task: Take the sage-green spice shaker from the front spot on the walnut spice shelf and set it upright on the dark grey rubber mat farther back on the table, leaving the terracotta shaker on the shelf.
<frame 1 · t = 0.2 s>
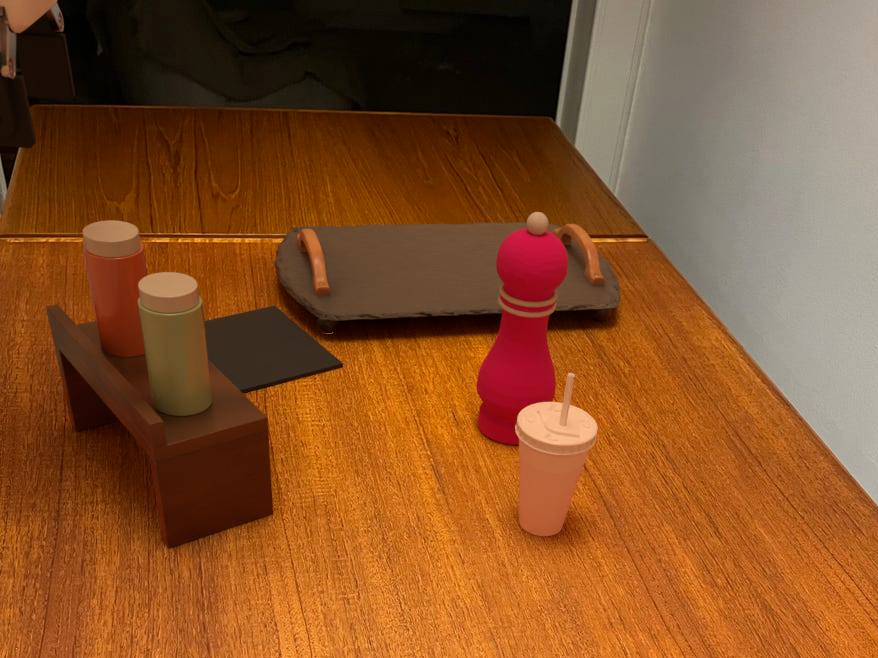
hand: (31, 120, 66), 27 cm above the table, tool pointing down, fingers open, 9 cm apart
smoothie: (540, 524, 84), on the table
mat: (246, 351, 100), on the table
terracotta shaker: (128, 344, 82), point 9 cm above the table, touching spice shelf
pepper mill: (510, 429, 95), on the table
spice shelf: (168, 467, 85), on the table
green shaker: (182, 401, 76), point 9 cm above the table, touching spice shelf
serving tray: (447, 290, 115), on the table
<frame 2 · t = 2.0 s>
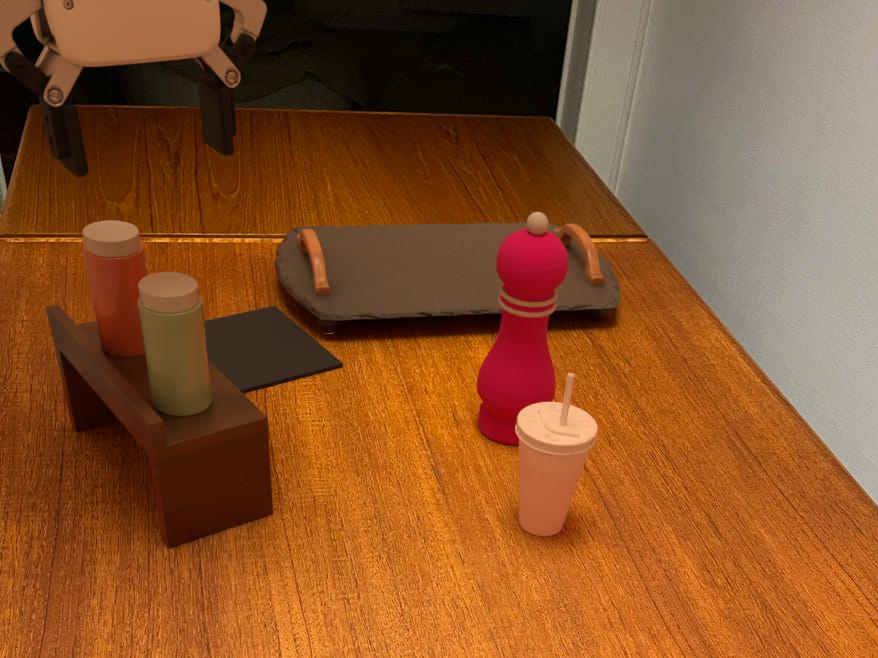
hand: (149, 159, 64), 26 cm above the table, tool pointing down, fingers open, 9 cm apart
nothing on the table moved.
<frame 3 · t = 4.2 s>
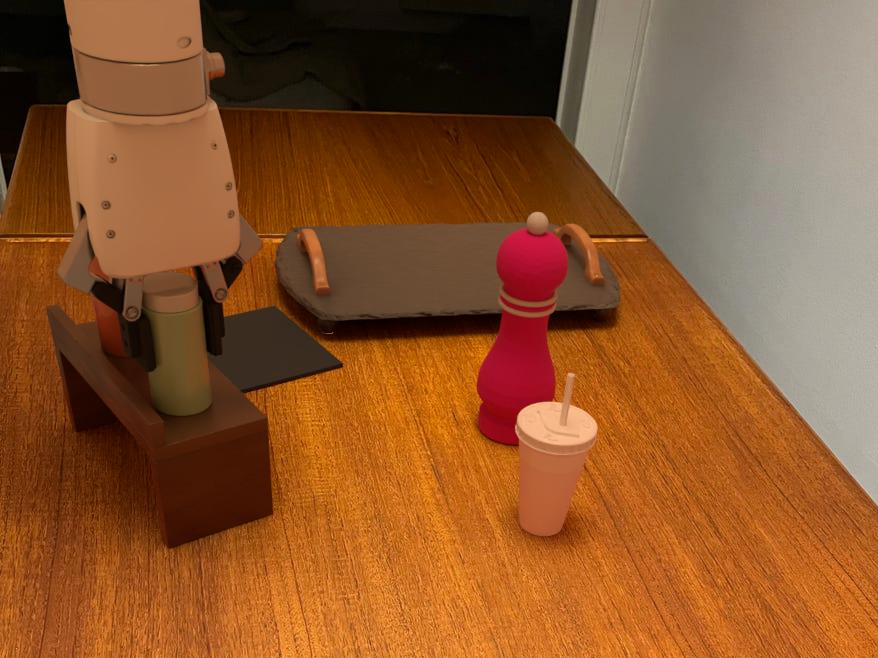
hand: (176, 353, 73), 13 cm above the table, tool pointing down, fingers closed on green shaker, 4 cm apart
green shaker: (182, 401, 76), point 9 cm above the table, touching gripper, spice shelf
everything else where it was.
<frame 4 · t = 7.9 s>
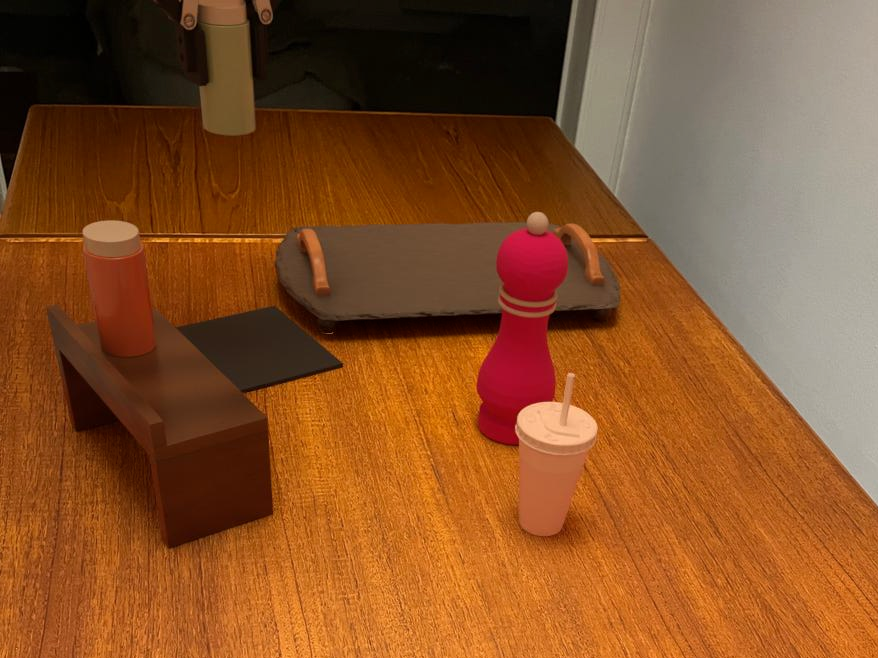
hand: (225, 75, 82), 25 cm above the table, tool pointing down, fingers closed on green shaker, 4 cm apart
green shaker: (229, 127, 85), point 21 cm above the table, touching gripper
everything else where it was.
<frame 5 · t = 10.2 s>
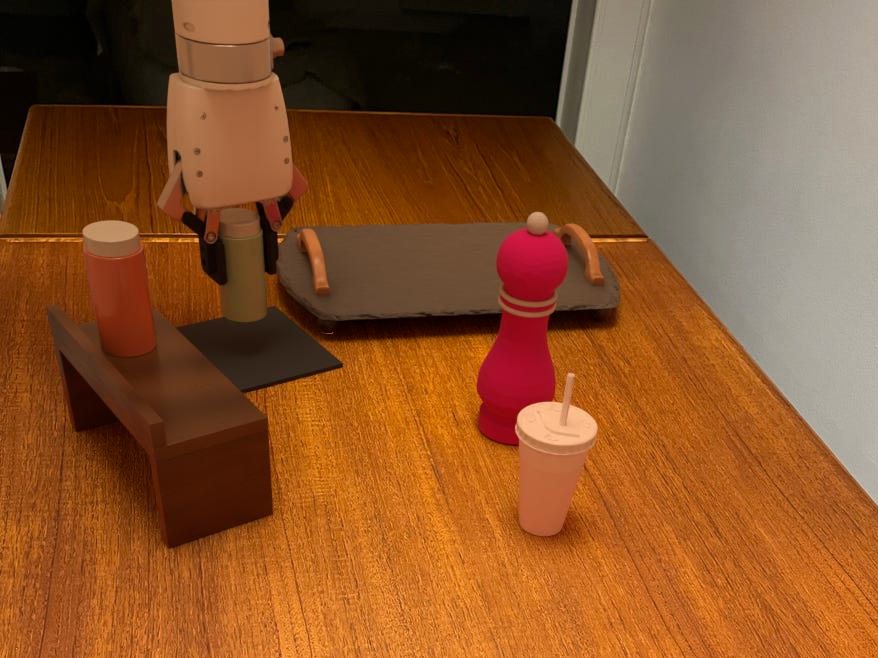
hand: (241, 272, 95), 8 cm above the table, tool pointing down, fingers closed on green shaker, 4 cm apart
green shaker: (244, 312, 98), point 4 cm above the table, touching gripper
everything else where it was.
when the fingers open (4 cm above the table, at t = 11.7 s): green shaker stays where it is, resting on mat.
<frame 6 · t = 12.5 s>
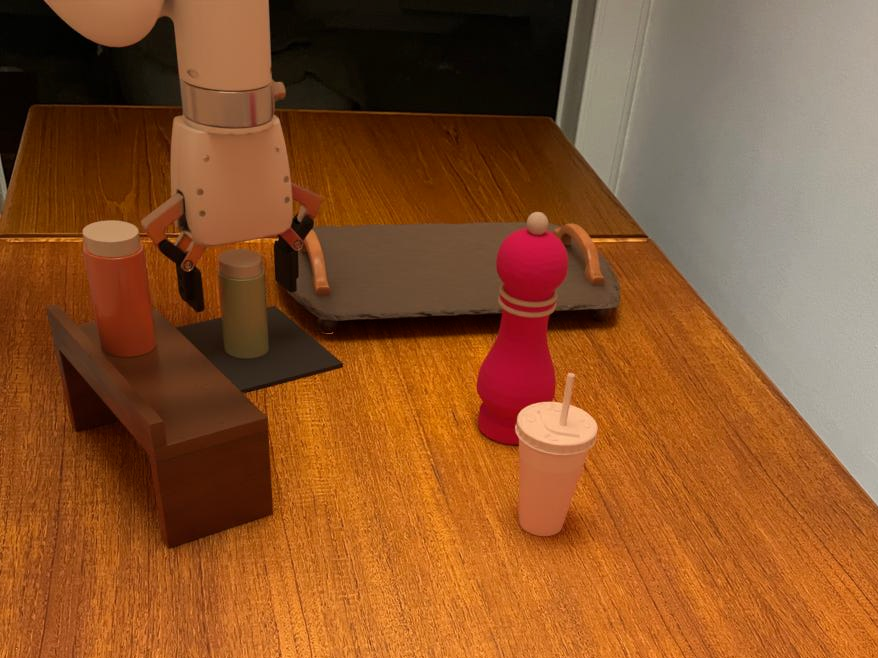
hand: (241, 296, 96), 6 cm above the table, tool pointing down, fingers open, 9 cm apart
green shaker: (246, 348, 100), resting on mat
everything else where it was.
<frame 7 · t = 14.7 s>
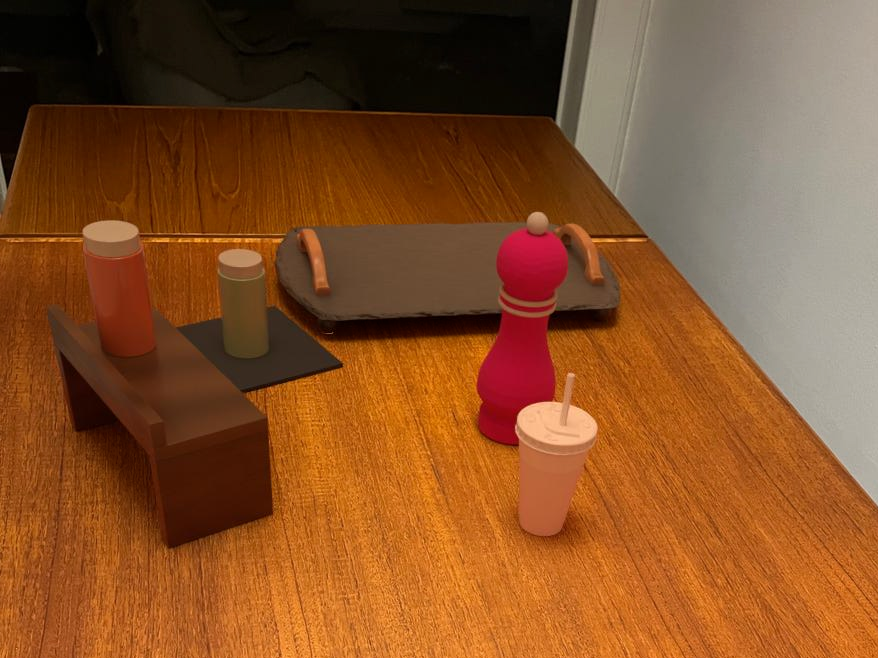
nothing on the table moved.
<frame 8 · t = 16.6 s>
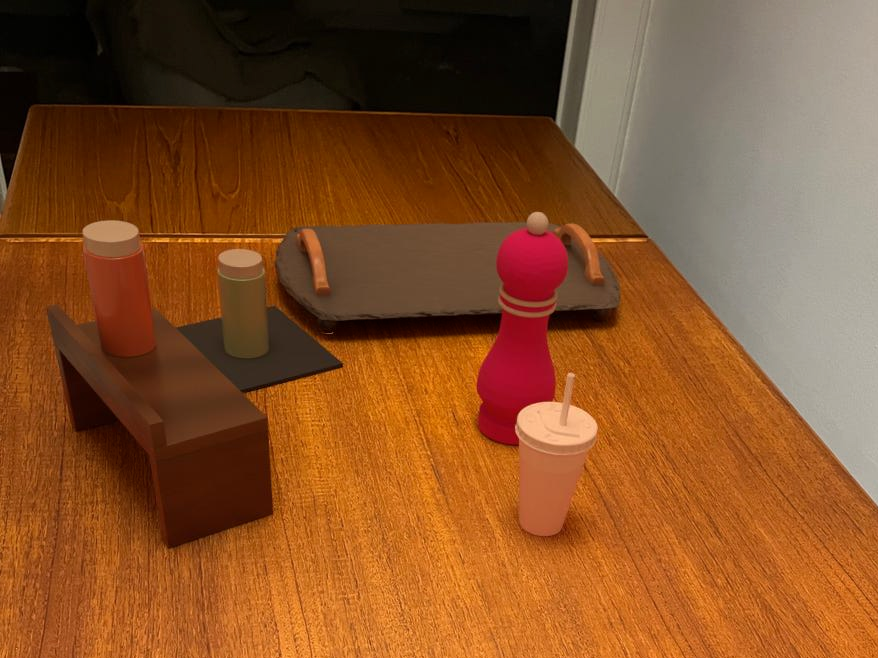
nothing on the table moved.
at the end: green shaker inside the target area on the mat (0.1 cm from its centre), point 0.4 cm above the mat's base; green shaker tilted 0°; terracotta shaker moved 0.0 cm from its start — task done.
